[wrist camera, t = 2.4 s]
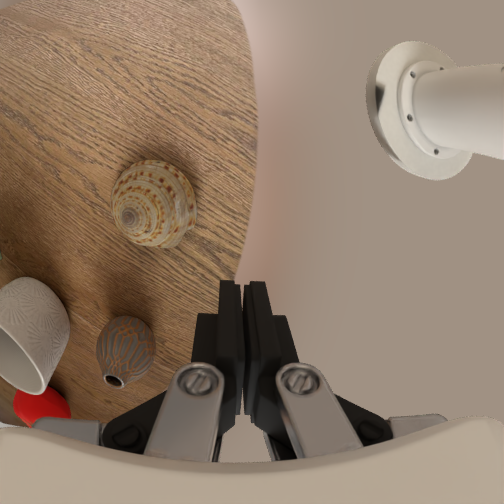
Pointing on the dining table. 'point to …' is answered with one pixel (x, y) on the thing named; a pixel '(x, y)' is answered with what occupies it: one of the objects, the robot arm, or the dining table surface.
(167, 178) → the seashell
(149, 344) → the vase
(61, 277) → the dining table surface
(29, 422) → the tomato
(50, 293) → the planter
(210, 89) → the dining table surface
